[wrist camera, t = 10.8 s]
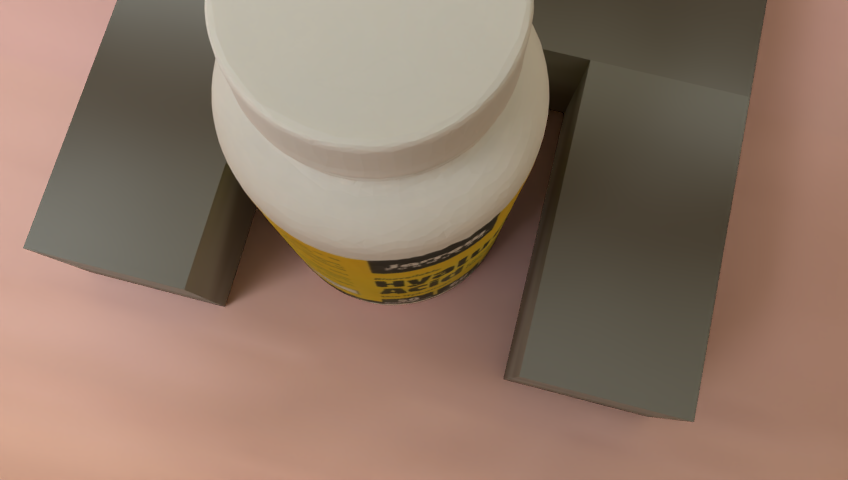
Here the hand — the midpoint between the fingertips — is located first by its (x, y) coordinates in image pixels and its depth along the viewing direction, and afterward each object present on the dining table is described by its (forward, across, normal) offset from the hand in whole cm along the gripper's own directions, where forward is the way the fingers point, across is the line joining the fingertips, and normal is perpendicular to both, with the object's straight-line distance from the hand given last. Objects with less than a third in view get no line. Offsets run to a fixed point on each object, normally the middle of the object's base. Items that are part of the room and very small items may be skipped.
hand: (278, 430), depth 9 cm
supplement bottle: (+9, 0, +2) cm, 10 cm away
